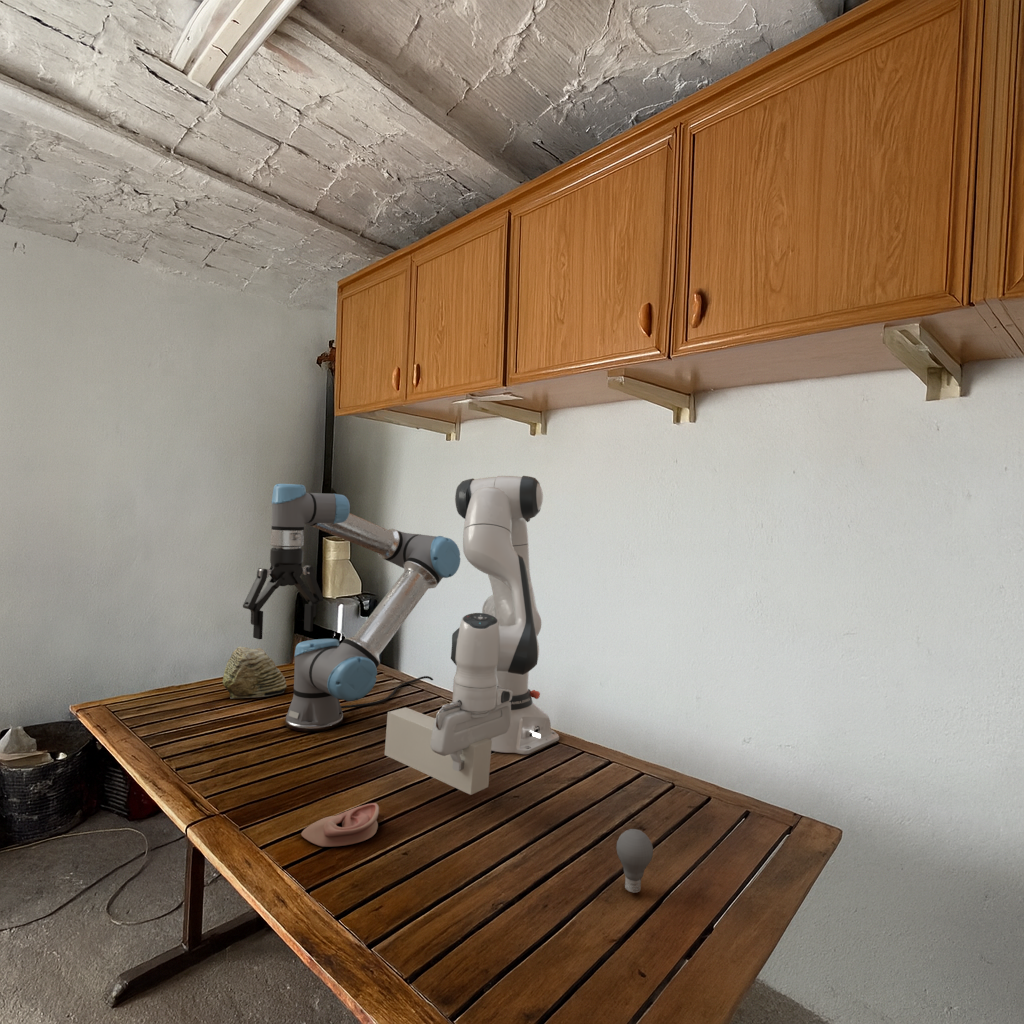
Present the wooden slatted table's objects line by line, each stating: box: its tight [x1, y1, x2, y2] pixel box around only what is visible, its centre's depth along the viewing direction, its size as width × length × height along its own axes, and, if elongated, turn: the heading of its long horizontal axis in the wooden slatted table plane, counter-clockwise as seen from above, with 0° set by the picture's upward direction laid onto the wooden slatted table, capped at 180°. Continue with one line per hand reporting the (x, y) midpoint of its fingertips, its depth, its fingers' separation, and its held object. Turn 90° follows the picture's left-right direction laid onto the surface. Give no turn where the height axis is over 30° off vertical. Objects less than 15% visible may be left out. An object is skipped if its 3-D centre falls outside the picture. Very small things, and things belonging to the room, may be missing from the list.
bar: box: [384, 706, 492, 796], centre depth 133 cm, size 26×5×10 cm, turn 52°
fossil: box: [222, 646, 288, 699], centre depth 198 cm, size 9×18×15 cm, turn 132°
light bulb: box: [615, 828, 654, 894], centre depth 106 cm, size 6×6×10 cm
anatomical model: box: [300, 802, 380, 848], centre depth 120 cm, size 13×4×12 cm
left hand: (283, 634), depth 154 cm, fingers open, 13 cm apart
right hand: (469, 764), depth 127 cm, fingers closed on bar, 5 cm apart
